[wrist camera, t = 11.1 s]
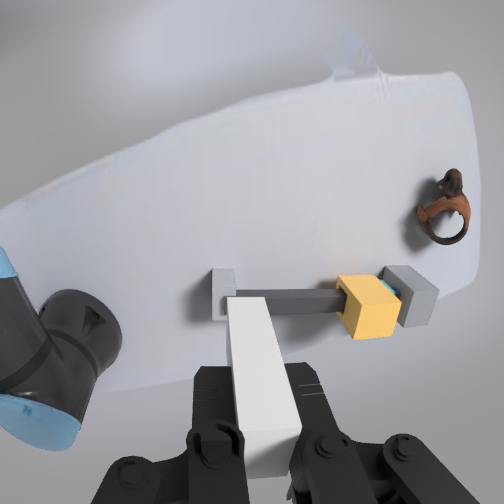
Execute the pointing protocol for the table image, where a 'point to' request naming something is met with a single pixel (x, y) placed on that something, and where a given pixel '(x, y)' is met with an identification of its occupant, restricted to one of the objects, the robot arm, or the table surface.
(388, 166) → the table surface
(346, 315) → the sleeve
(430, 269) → the table surface
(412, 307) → the slider rail
